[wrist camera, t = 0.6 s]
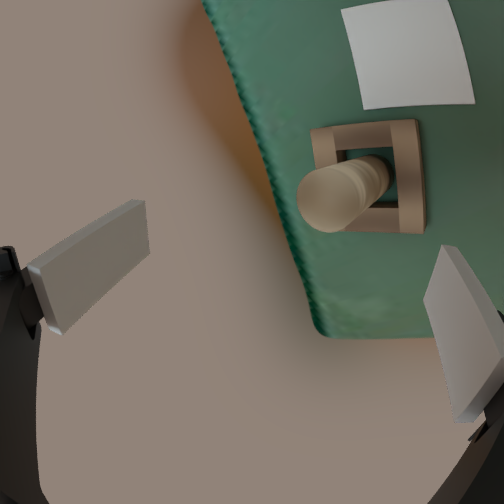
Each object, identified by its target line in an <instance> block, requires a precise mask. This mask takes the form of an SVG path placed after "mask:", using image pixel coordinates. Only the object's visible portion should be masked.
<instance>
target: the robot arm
mask: <svg viewBox="0 0 504 504" xmlns="http://www.w3.org/2000/svg"><path fill="white" fill-rule="evenodd" d="M149 254H150V250H149V240H148V230H147V220H146V209H145V201H142V200H130V201H128V202H126V203H125V204H123V205H121V206H119V207H118V208H116V209H114V210H112V211H110V212H109V213H107V214H105V215H104V216H102V217H100V218H98V219H97V220H95V221H94V222H92V223H90V224H88V225H87V226H85V227H83V228H82V229H80V230H79V231H77V232H75V233H74V234H72V235H70V236H69V237H67V238H66V239H64V240H63V241H61V242H59V243H58V244H56V245H55V246H53V247H52V248H50V249H49V250H47V251H46V252H44V253H43V254H41V255H40V256H38V257H37V258H35V259H34V260H32V261H31V262H29V263H28V264H27V267H25V268H24V269H22V270H21V269H20V266H19V263H18V259H17V256H16V252H15V249H14V248H13V247H12V246H4V247H0V504H49V503H48V501H47V500H46V498H45V496H44V494H43V493H42V490H41V487H40V482H39V472H38V461H37V445H36V386H37V368H38V357H39V345H40V338H41V325H40V323H39V321H40V319H42V318H43V317H44V318H45V320H46V323H47V325H48V328H49V329H50V330H52V331H54V332H56V333H58V334H60V335H63V334H64V333H65V332H66V331H67V330H68V329H69V328H70V327H71V326H72V325H73V324H74V323H75V322H76V321H78V319H79V318H81V316H83V314H85V313H86V312H87V311H88V310H89V309H90V308H91V307H92V306H93V305H94V304H95V303H96V302H97V301H98V300H100V299H101V298H102V297H103V296H104V295H105V294H106V293H107V292H108V291H109V290H110V289H111V288H112V287H113V286H115V285H116V284H117V283H118V282H119V281H120V280H121V279H122V278H123V277H124V276H126V275H127V274H128V273H129V272H130V271H131V270H132V269H133V268H134V267H135V266H137V265H138V264H139V263H140V262H141V261H142V260H143V259H145V258H146V257H147V256H148V255H149ZM423 301H424V304H425V307H426V310H427V313H428V317H429V320H430V323H431V326H432V330H433V333H434V337H435V340H436V344H437V348H438V351H439V355H440V359H441V363H442V367H443V371H444V375H445V379H446V384H447V389H448V393H449V398H450V403H451V408H452V414H453V419H454V423H466V422H474V421H475V420H476V419H477V417H478V416H479V415H480V414H481V413H482V411H483V410H484V413H485V417H486V420H485V421H484V423H483V424H482V425H481V426H480V427H479V428H478V429H477V430H476V432H475V433H474V434H473V435H472V436H471V437H470V438H469V439H468V441H471V440H472V441H471V443H470V444H469V446H468V448H467V450H466V451H465V452H464V454H463V456H462V457H461V459H460V460H459V462H458V463H457V465H456V466H455V468H454V469H453V470H452V472H451V473H450V475H449V476H448V478H447V479H446V480H445V482H444V483H443V484H442V486H441V487H440V488H439V490H438V491H437V492H436V494H435V495H434V496H433V497H432V499H431V500H430V501H429V502H428V504H504V315H503V314H502V313H501V312H500V311H498V310H496V308H495V307H494V305H493V303H492V301H491V300H490V298H489V296H488V295H487V293H486V291H485V290H484V288H483V286H482V285H481V283H480V281H479V280H478V278H477V277H476V275H475V274H474V272H473V270H472V269H471V267H470V266H469V264H468V263H467V261H466V260H465V258H464V257H463V255H462V254H461V252H460V251H459V250H458V248H457V247H453V246H448V245H443V244H442V245H441V248H440V251H439V255H438V258H437V261H436V264H435V267H434V270H433V273H432V276H431V279H430V282H429V285H428V288H427V290H426V293H425V296H424V299H423Z"/></svg>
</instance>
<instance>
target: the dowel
mask: <svg viewBox="0 0 504 504" xmlns="http://www.w3.org/2000/svg"><path fill="white" fill-rule="evenodd" d="M393 180H394V171H393V168H392V166H391V164H390V163H389V162H388V160H387V159H385V158H384V157H382V156H380V155H376V154H370V155H366V156H362V157H359V158H355V159H352V160H348V161H345V162H341V163H338V164H334V165H331V166H327V167H324V168H321V169H317V170H314V171H312V172H310V173H308V174H307V175H306V176H305V177H304V178H303V179H302V180H301V182H300V184H299V186H298V189H297V205H298V208H299V211H300V213H301V215H302V217H303V218H304V219H305V221H306V222H307V223H308V224H309V225H311V226H312V227H313V228H315V229H317V230H320V231H323V232H336V231H339V230H341V229H343V228H345V227H346V226H347V225H348V224H350V223H351V222H352V221H353V220H354V219H355V218H357V217H358V216H359V215H360V214H361V213H362V212H364V211H365V210H366V209H367V208H368V207H369V206H370V205H372V204H373V203H374V202H375V201H376V200H377V199H378V198H380V197H381V196H382V195H383V194H384V193H385V192H386V191H388V190H389V189H390V187H391V186H392V184H393Z"/></svg>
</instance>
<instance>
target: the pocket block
mask: <svg viewBox="0 0 504 504" xmlns="http://www.w3.org/2000/svg"><path fill="white" fill-rule="evenodd" d="M310 134H311V140H312V146H313V153H314V159H315V166H316V170H317V169H321V168H324V167H327V166H331V165H334V164H338V163H341V162H345V161H347V159H346V152H345V150H347V149H360V148H375V147H392V146H393V151H394V159H395V169H396V179H397V191H398V202H374V203H373V204H372V205H370V206H369V207H368V208H367V209H366V210H365V211H364V212H362V213H361V214H360V215H359V216H358V217H357V218H355V219H354V220H353V221H352V222H351V223H350V224H348V225H347V226H346V227H345V228H343V229H341V230H339V231H356V232H388V233H415V234H424V231H425V228H426V203H425V185H424V171H423V160H422V151H421V142H420V134H419V127H418V120H416V119H405V120H390V121H378V122H367V123H357V124H348V125H339V126H331V127H324V128H316V129H310Z"/></svg>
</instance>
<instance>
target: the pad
mask: <svg viewBox="0 0 504 504" xmlns="http://www.w3.org/2000/svg"><path fill="white" fill-rule="evenodd" d="M341 13H342V16H343V20H344V23H345V27H346V31H347V34H348V38H349V42H350V46H351V50H352V54H353V59H354V63H355V68H356V72H357V77H358V82H359V87H360V92H361V97H362V102H363V108H364V110H372V109H382V108H393V107H407V106H423V105H452V104H475V99H474V94H473V88H472V83H471V79H470V74H469V70H468V65H467V61H466V57H465V53H464V49H463V46H462V42H461V39H460V35H459V32H458V29H457V26H456V23H455V20H454V17H453V14H452V11H451V8H450V5H449V2H448V0H390V1H383V2H377V3H371V4H365V5H360V6H355V7H350V8H346V9H341Z"/></svg>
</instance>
